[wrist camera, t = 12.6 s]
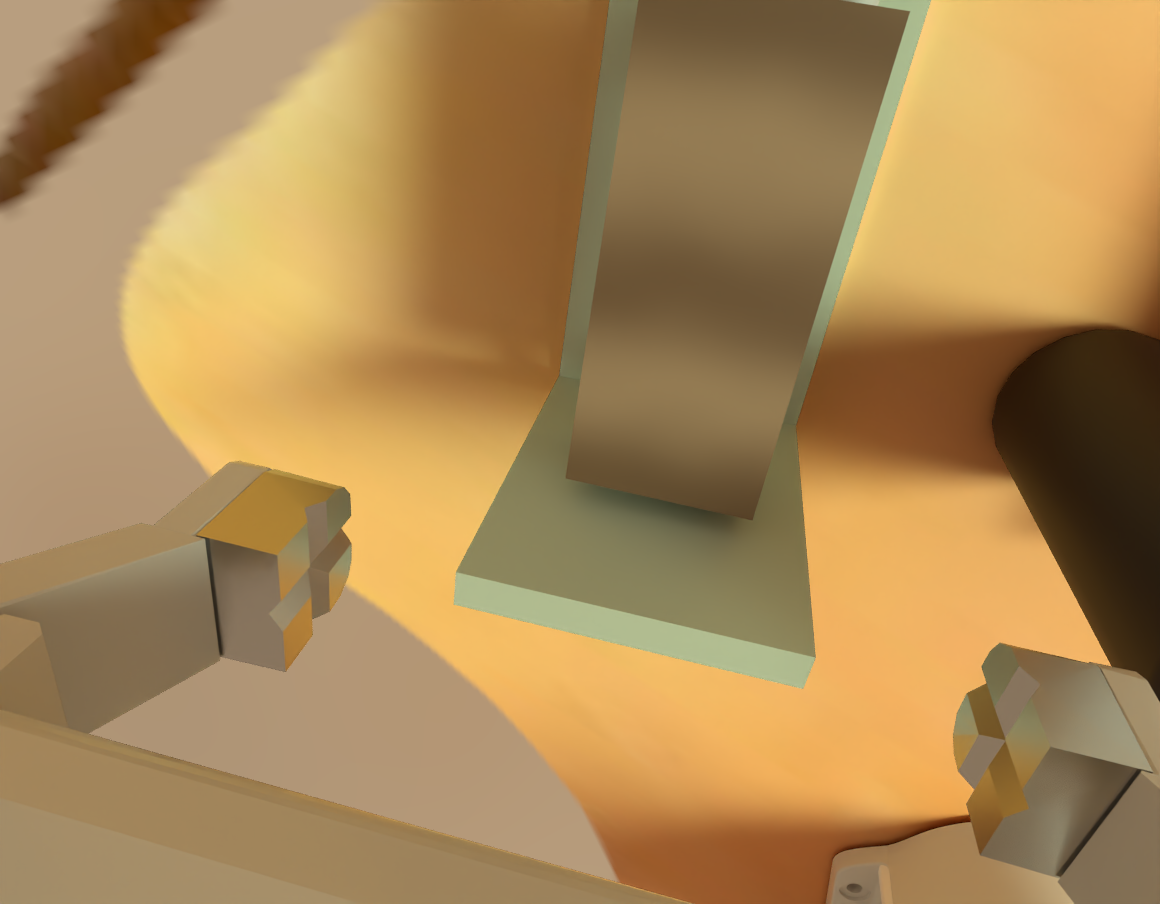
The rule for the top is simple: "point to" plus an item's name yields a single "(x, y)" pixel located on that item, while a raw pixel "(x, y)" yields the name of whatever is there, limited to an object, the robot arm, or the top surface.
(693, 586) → the shelf frame
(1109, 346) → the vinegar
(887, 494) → the top surface
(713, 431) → the plank
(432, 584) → the top surface
